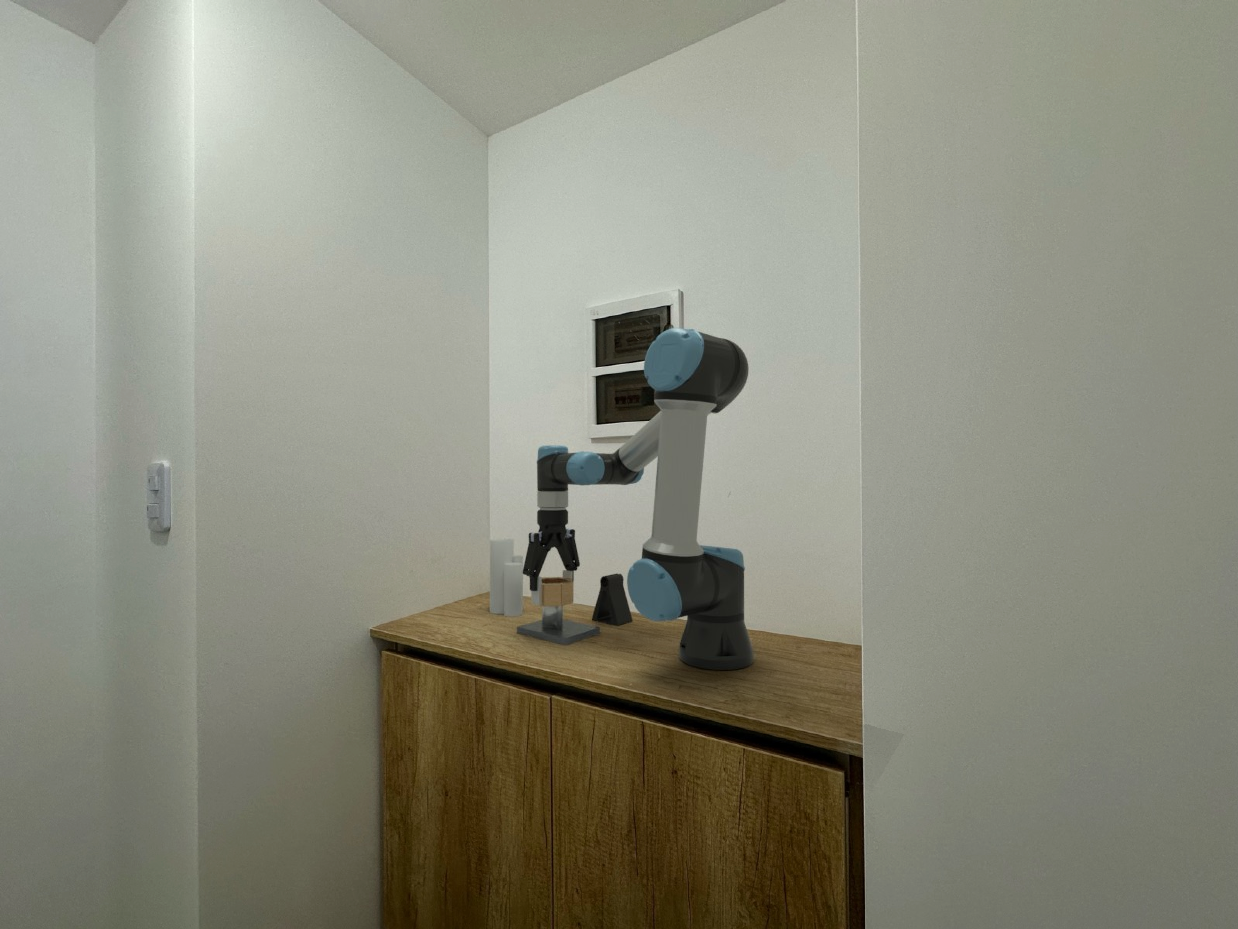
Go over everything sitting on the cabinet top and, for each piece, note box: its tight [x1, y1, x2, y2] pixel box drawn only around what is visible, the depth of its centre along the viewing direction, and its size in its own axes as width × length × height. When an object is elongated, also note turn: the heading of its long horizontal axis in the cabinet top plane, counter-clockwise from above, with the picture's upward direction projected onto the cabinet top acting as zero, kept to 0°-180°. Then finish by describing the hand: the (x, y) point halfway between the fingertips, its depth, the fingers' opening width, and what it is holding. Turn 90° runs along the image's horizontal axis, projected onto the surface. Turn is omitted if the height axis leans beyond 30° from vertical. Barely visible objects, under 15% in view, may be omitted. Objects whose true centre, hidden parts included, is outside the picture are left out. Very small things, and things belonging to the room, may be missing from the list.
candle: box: [489, 538, 524, 618], centre depth 155 cm, size 11×7×20 cm, turn 56°
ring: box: [538, 576, 574, 607], centre depth 135 cm, size 10×10×5 cm
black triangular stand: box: [591, 573, 633, 627], centre depth 146 cm, size 9×6×12 cm, turn 50°
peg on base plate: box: [516, 605, 601, 646], centre depth 134 cm, size 16×12×10 cm
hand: (552, 600), depth 135 cm, fingers closed on ring, 10 cm apart
